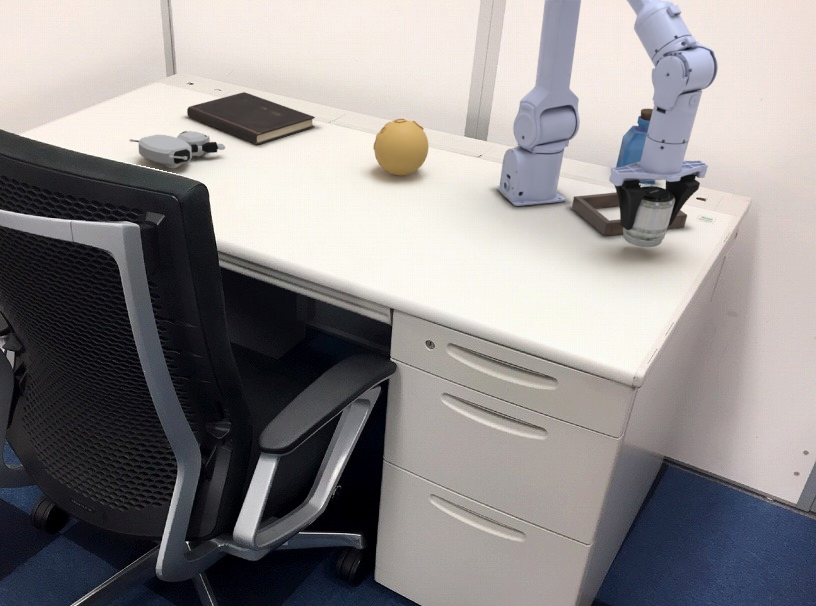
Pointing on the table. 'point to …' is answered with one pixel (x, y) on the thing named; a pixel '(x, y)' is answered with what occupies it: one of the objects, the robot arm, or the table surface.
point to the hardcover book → (251, 117)
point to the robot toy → (176, 148)
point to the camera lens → (651, 218)
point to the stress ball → (401, 147)
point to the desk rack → (603, 225)
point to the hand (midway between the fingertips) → (645, 225)
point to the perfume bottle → (635, 142)
